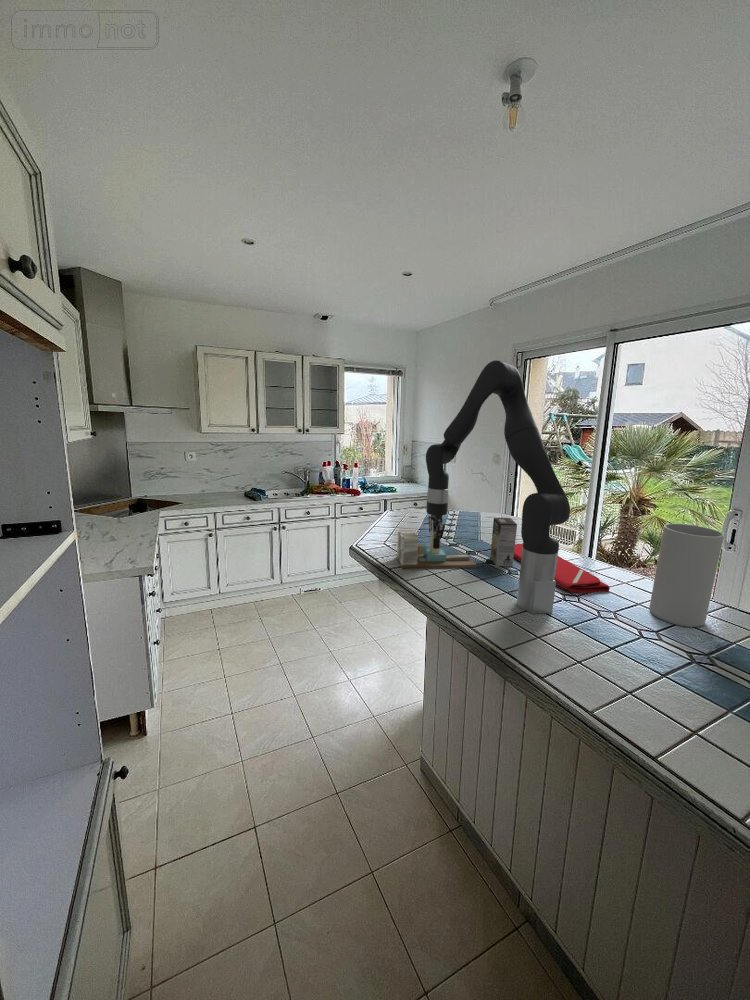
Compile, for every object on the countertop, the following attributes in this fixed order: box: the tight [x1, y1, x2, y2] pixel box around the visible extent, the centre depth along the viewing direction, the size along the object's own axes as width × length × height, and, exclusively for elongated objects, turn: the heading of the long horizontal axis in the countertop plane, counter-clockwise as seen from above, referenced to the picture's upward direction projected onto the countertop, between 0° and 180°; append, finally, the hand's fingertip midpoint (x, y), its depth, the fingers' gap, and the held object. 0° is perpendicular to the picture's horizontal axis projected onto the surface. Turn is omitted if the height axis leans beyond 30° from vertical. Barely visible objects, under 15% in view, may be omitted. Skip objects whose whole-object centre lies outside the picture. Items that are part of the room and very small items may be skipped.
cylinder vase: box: [649, 523, 725, 628], centre depth 108 cm, size 12×12×25 cm
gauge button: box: [418, 543, 421, 555], centre depth 145 cm, size 3×6×3 cm, turn 97°
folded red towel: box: [513, 543, 610, 594], centre depth 144 cm, size 16×41×4 cm, turn 10°
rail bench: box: [396, 530, 478, 570], centre depth 146 cm, size 12×27×11 cm, turn 97°
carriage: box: [419, 530, 447, 562], centre depth 146 cm, size 6×9×11 cm, turn 97°
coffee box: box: [490, 517, 518, 567], centre depth 148 cm, size 9×6×16 cm
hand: (434, 546), depth 146 cm, fingers closed on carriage, 3 cm apart
